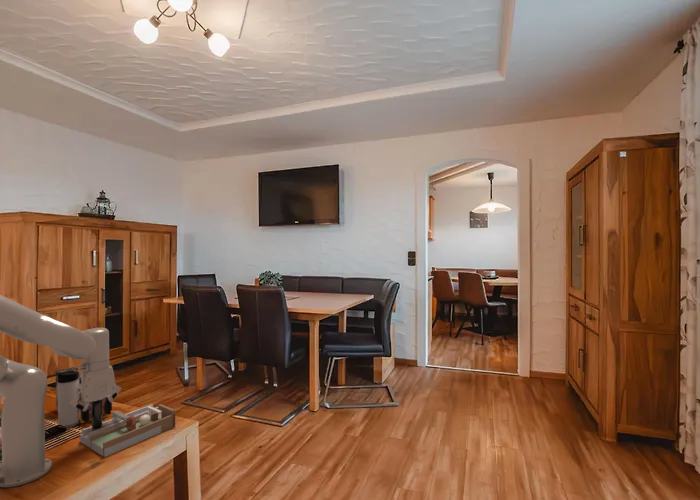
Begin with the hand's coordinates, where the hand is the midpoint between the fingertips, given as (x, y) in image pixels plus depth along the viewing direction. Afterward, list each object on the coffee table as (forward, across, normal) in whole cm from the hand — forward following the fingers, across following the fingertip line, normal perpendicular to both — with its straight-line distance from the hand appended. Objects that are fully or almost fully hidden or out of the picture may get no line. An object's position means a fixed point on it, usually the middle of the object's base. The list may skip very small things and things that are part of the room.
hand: (96, 417), depth 129 cm
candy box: (+8, +7, +19) cm, 22 cm away
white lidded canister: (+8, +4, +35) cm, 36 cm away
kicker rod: (+5, +3, -4) cm, 7 cm away
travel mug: (+8, 0, +21) cm, 23 cm away
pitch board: (+8, +8, -5) cm, 13 cm away
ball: (+4, +12, -8) cm, 15 cm away
